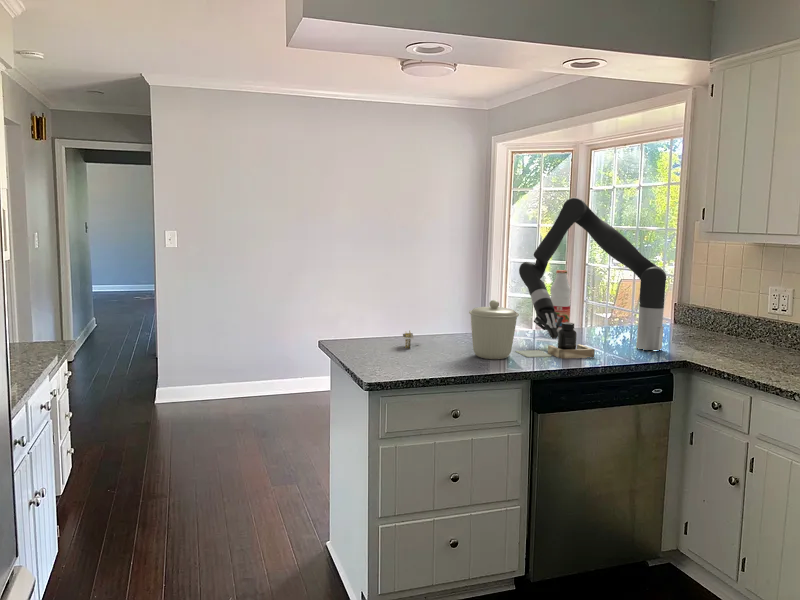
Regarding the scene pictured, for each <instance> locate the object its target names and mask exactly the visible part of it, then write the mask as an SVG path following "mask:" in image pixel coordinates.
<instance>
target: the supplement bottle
mask: <svg viewBox="0 0 800 600" xmlns="http://www.w3.org/2000/svg"><path fill="white" fill-rule="evenodd" d="M561 328H562V329H561V330H560V331H559V332H557V333H558V337H557V348H560V349H562V350H571V349H577V335H578V334H577V331H576V330H575V322H569V323H567V322H564V323H562V324H561Z"/></svg>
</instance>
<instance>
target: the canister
mask: <svg viewBox="0 0 800 600" xmlns="http://www.w3.org/2000/svg"><path fill="white" fill-rule="evenodd" d="M488 305H489V306H479V307H474V308H472V309H471V310H469V311H468V314H470V326H471V337H472V338H471V339H472V348H473V349H472V350H473V352H474V353H473V354H475V355H476V357H478V358H482V359H484V360H485V359H486V360H503V359H507V358H509V356H510V355H511V353H512V348H513V344H514V337H515V331H516V325H517V320H518V319H517V318H518V317H519V315H520V314H519V313H518V312H517V311H516V310H514V309H512V308H508V307H502V306H500V301H498V300H497V299H493V300H490V302H489V304H488Z"/></svg>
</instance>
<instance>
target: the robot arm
mask: <svg viewBox="0 0 800 600" xmlns="http://www.w3.org/2000/svg"><path fill="white" fill-rule="evenodd" d="M574 223H575V224H577V225H578V226H579V227H581V228H582V229H584V231H586V232H587V234H589V236H590V237H591V238H592V240H594V242H595V243H596V244H597V246H599V247H600V248H601V250H603V251H604V252H605V253H606V254H607V255H609V256H610V257H611V258H612V259H614V260H615V261H617V262H619V264H622V265H624V266H625V267H626V268H628V269H629V270H630V271H631V272H633V274H635V275H636V276H637V278H638V279H639V280H640V288H639V306H638V307H639V308H638V320H637V331H636V333H637V334H636V346H635V349H637V348H639V349H644V350H660V349H661V348H662V349H663V342H664V341H663V340H664V339H663V338H664V327H665V326H663V323H664V322H663V320H664V310H665V309H664V308H665V297H666V295H665V294H666V284H667V283H666V282H667V275H666V273H665V271H664V270H663V269H662V268H661V267H659V266H657V265H656V264H655V263H654V262H652V261H651V260H650V259H648V258H646V257H645V256H644V255H643V254H642V253H641V252H639V250H638V249H637V248H636V247H635V246H634V245H633V244H632V243H631V242H630V240H628V239H627V237H625V236H624V235H623V234H621V233H620V232H619V231H618V230H617V229H615V228H614V227H613V226H611V225H610V224H609V223H608V222H605V221H604V220H603V219H601V218H600V217H599V216H597V215H596V214H595V212H594V211H593V210H592V209H591V208H590V207H589V206H588V205H587V204H586V202H585V201H584V200H582V199H580V198H578V197H570V198H568V199H567V200H565V201H564V203H563V205H562V207H561V210H560V212H559V214H558V216H557V218H556V219H555V221H554V223H553V224H552V226H551V228H550V230H549V231H548V232H547V233H546V235H545V236H544V238H543V239H542V241H541V242H540V243H539V244H538V246H537V248H536V249H535V251H534V252H533V257H534V258H535V259H536V260H535V263H533V262H530V261H524V262H522V263H520V266H519V269H518V274H519V275H520V278H521V280H522V282H523V284H524V285H525V286H526V288H527V290H528V292H529V295H530V299H531V303H532V305H533V308H534V311H535V314H536V317H534V319H533V323H535V324H536V326H538V327H539V328H540V329H542V331H547V332H548V335H549V336H550V338H551V339H552V340H555V339H558V332H557V329H558V328H559V327H560V325H561V322H562V320H563V317H559V316H557V314H556V313H555V310H554V306H553V303H552V301H551V295H550V293H549V292H548V290H547V288H546V284H545V283H544V281H543V280H542V278H543V276H544V275H545V272H546V269H547V266H548V264H549V261H550V259H552V258H553V255H554V254H555V252H556V251H557V250H558V248H559V246H560V244H561V242H562V241H563V239H564V237H565V235H566V234H567V233H568V231H569V230H570V228H571V227H572V226H573V224H574ZM556 319H557V320H556ZM555 320H556V321H557V324H555V323H556V322H555ZM639 349H638V350H639ZM644 350H643V351H644ZM660 351H661V350H660Z"/></svg>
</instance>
